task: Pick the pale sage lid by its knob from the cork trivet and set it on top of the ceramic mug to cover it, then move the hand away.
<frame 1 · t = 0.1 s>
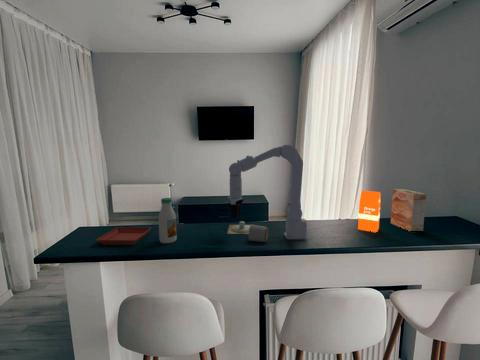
hand: (236, 215, 122), 10 cm above the table, tool pointing down, fingers open, 7 cm apart
ceramic mug: (258, 240, 117), on the table
trivet: (242, 230, 130), on the table
milk bottle: (168, 241, 118), on the table
orange juice: (368, 229, 132), on the table
coffeecake box: (405, 227, 134), on the table
plant saucer: (126, 240, 121), on the table
lid: (242, 229, 130), point 1 cm above the table, touching trivet
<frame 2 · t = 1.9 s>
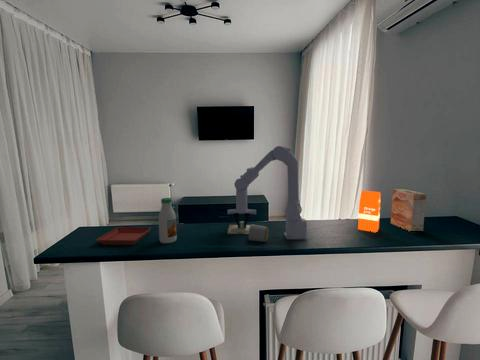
hand: (242, 227, 130), 2 cm above the table, tool pointing down, fingers closed on lid, 3 cm apart
lid: (242, 229, 130), point 1 cm above the table, touching gripper, trivet
everything else where it was.
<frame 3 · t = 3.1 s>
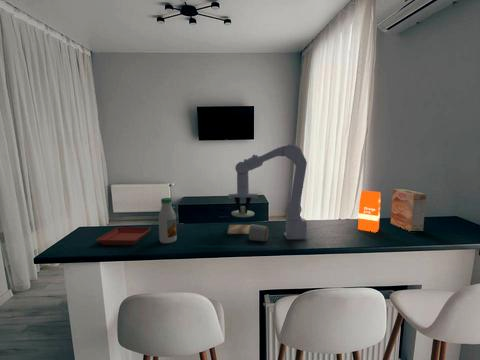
hand: (243, 212, 128), 10 cm above the table, tool pointing down, fingers closed on lid, 3 cm apart
lid: (243, 213, 128), point 9 cm above the table, touching gripper
everything else where it was.
when the fingers open (9 cm above the table, at t = 4.6 s): lid stays where it is, resting on ceramic mug.
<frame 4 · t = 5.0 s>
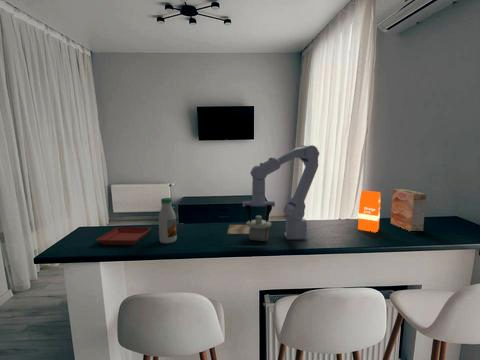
hand: (258, 221, 116), 9 cm above the table, tool pointing down, fingers open, 7 cm apart
ceramic mug: (259, 240, 118), on the table, touching lid
lid: (258, 224, 117), point 8 cm above the table, touching ceramic mug
everything else where it was.
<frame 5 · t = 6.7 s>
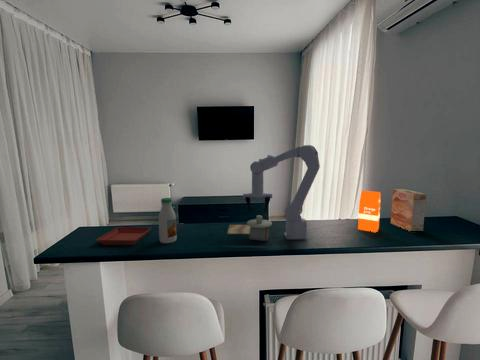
hand: (257, 211, 128), 10 cm above the table, tool pointing down, fingers open, 7 cm apart
nothing on the table moved.
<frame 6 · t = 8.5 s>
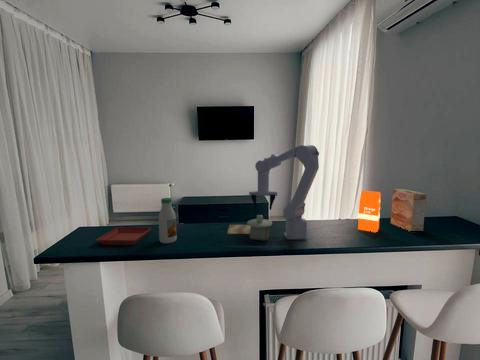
hand: (263, 209, 133), 10 cm above the table, tool pointing down, fingers open, 7 cm apart
at the end: lid 0.3 cm off-centre on the ceramic mug, point 7.9 cm above the ceramic mug's base; lid tilted 0°; the gripper is holding nothing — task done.
